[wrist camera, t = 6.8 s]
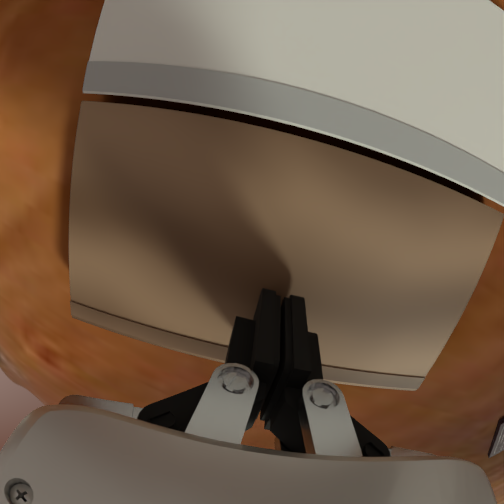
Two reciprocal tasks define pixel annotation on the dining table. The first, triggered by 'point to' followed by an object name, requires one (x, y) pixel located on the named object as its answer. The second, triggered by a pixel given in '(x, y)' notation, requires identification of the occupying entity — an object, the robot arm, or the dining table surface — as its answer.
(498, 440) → the chocolate bar
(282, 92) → the laid board
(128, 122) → the plank
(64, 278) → the dining table surface
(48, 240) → the dining table surface
